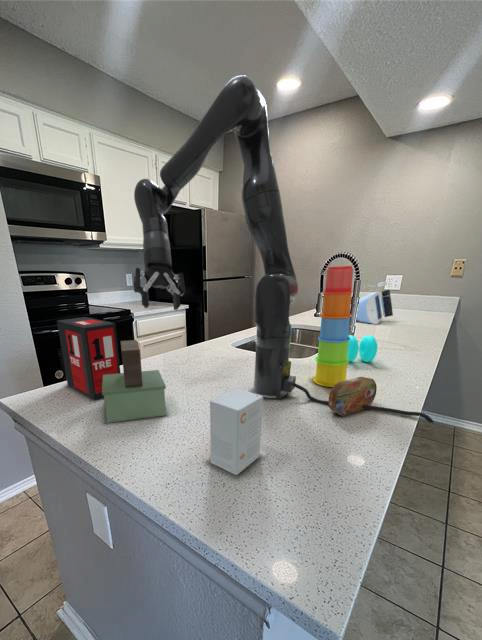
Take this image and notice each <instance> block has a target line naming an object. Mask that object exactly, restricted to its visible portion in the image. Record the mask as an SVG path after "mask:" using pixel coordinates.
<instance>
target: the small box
mask: <svg viewBox="0 0 482 640" xmlns="http://www.w3.org/2000/svg"><path fill="white" fill-rule="evenodd" d="M263 405H264V397H263V396H261V395H258V394H255V393H254V392H251V391H247V390H243V389H240V388H234V389H232V390H230V391H228V392H225V393H223V394H221V395H219V396H218V397H216V398H214V399H212V400H210V401H209V423H210V425H209V426H210V427H209V428H210V429H209V430H210V431H209V433H210V435H209V436H210V437H209V438H210V440H209V441H210V443H209V444H210V463H211V464H212V465H214V466H216V467H218V468H221V469H222V470H225V471H227V472H229V473H230V474H233V475H235V476H238V475H239V474H240V473H241V472H243V471H244V470H246V468H247V467H249V466H250V465H251V464H252V463H253V462H255V461H256V460H257V459H258V458H259V457H260V456H261V442H262V441H261V438H262V422H263V407H264V406H263Z"/></svg>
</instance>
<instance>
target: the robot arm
mask: <svg viewBox="0 0 482 640" xmlns="http://www.w3.org/2000/svg"><path fill="white" fill-rule="evenodd" d="M268 121H269V120H268V110H267V104H266V99H265V98H264V95H263V94H262V92H261V91H260V89H259V88H258V87H257V85H256V84H255V83H254V81H252V79H251V78H249V77H248V76H246V75H237V76H234V77H232V78H231V79H230V80H229V81H228V82H227V83H226V84H225V85H224V87H223V88H222V89H221V90H220V92H219V93H218V95H217V96H216V97H215V99H214V100H213V102H212V104H211V105H210V107H209V108H208V110H207V111H206V113H205V114H204V116H203V117H202V118H201V120H200V122H199V123H198V124H197V125H196V127H195V128H194V130H193V132H192V133H191V134H190V135H189V137H188V138H187V139H186V140H185V142H184V143H183V145H182V146H181V147H180V148H179V149H178V150H177V151H176V152H175V153H174V154H173V155H172V157H170V159H168V160H167V162H166V163H165V164H164V165H162V167H161V169H160V171H159V177H160V180H161V182H162V183H163V187H161V186H159V185H158V184H156V183H155V182H154V181H152V180H150V179H148V178H142V179H140V180H138V181H137V183H136V184H135V187H134V193H133V198H134V199H133V200H134V203H135V208H136V210H137V213H138V216H139V219H140V222H141V224H142V225H141V226H142V237H143V239H142V241H143V243H142V247H143V248H142V252H143V259H144V260H143V261H144V270H142V269H140V268H139V267H136V268H135V270H134V272H133V292H134V293H138V294H140V295H141V305H142V306H143V308H144V309H148V308H149V306H150V301H149V300H150V299H149V292H148V291H149V289H150V288H151V287H152V288H154V289H162V290H165V289H166V290H167V292H168V293H170V294H171V295H172V303H173V311H178V310H179V308H180V307H181V297H183V296H184V295H185V294H186V292H187V290H186V284H185V276H184V273H183V272H179V273H174V272H173V265H172V264H173V263H172V262H173V261H172V254H171V253H172V252H171V242H170V238H169V228H168V222H167V221H168V220H167V219H166V216H164V215H165V214H166V213H168V212H169V210H170V209H171V207H172V206H173V204H174V202H175V200H176V199H177V197H178V196H179V193H181V190H182V189H184V187H185V186H187V185H188V184H189V183H190V182H191V181H192V180H193V179H194V178H195V177H196V176H197V174H198V173H199V172H200V171H201V169H202V167H203V166H204V164H205V161H206V159H207V157H208V156H209V153H210V152H211V150H212V149H213V147H214V146H215V145H216V144H217V143H218V141H220V139H222V137H224V136H225V135H226V134H228V133H229V132H230V131H232V132H234V135H235V137H236V140H237V143H238V148H239V152H240V156H241V160H242V161H241V162H242V178H241V202H242V207H243V212H244V218H245V221H246V225H247V228H248V231H249V233H250V235H251V237H252V239H253V241H254V243H255V245H256V247H257V249H258V251H259V254H260V257H261V260H262V263H263V264H262V265H263V270H264V275H262V277H261V278H260V279H259V281H258V282H257V284H256V287H255V294H254V295H255V296H254V323H255V327H256V338H255V340H256V342H255V359H254V375H253V376H254V377H253V390H252V391H253V392H252V393H255V394H258V395H261V396H263V399H277V400H278V399H279V400H282V398H283V397H285V396H286V395H287V394H289V393H291V394H292V392H293V390H294V389H295V388H296V389H298V390H301V391H302V392H304V394H305V395H306V397H307V399H309V400H310V401H312V402H314V403H318V404H322V405H325V406H327V405H328V406H329V400H322V399H318V398H315V397H314V396H312V395H311V394H310V392H309V390H308V389H307V388H305V387H304V386H303V385H300V384H298V383H296V381H297V376H296V375H291V369H292V361H291V360H290V351H291V340H292V332H293V331H292V330H293V327H292V324H291V321H290V306H291V305H292V304H293V303H294V302H295V300H296V299H297V297H298V293H299V282H298V279H297V275H296V272H295V268H294V265H293V262H292V258H291V255H290V251H289V244H288V237H287V229H286V223H285V217H284V210H283V203H282V197H281V193H280V187H279V183H278V177H277V173H276V168H275V164H274V160H273V156H272V152H271V145H270V144H271V143H270V135H269V122H268ZM143 277H144V278H145V280H146V281H147V282H146V283H145V285H144V287H142V286H141V279H142V278H143ZM173 280H174V281H175V282H174V281H173ZM176 283H177V285H176ZM362 408H364V410H372V411H379V412H387V413H393V414H399V415H402V416H403V415H404V416H415V417H420V418H423V419H425V420H426V422H428V423H430V424H434V423H435V422H434V420H433V419H432V418H431V417H430V416H429V415H428V414H426V413H423V412H419V411H407V410H402V409H396V408H389V407H383V406H376V405H375V406H374V405H370V406H369V405H363V406H362ZM419 415H420V416H419Z"/></svg>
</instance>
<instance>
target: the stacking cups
mask: <svg viewBox="0 0 482 640" xmlns="http://www.w3.org/2000/svg"><path fill="white" fill-rule="evenodd" d="M353 274H354V268H353V265H342V266H341V265H340V266H328V267H327V269H326V274H325V287H324V291H322V293H323V301H322V303H323V304H322V311H321V314H319V316H320V317H321V319H320V329H319V330H320V331H319V336H318V337H317V340H318V350H317V357H315V362H316V368H315V376H314V377H313V378H312V381H313V382H314V384H317V385H318V386H322V387H326V388H333V387H334V385H336V384H337V383H339V382H342V381H346V380H348V379H347V370H348V364H349V363H350V362H349V359H348V358H347V354H348V342H349V340H350V337H348V336H349V335H350V323H351V318H350V317H352V315H351V314H350V307H351V305H352V294H353V293H354V290H352V289H353V288H352V287H353V278H354V277H353Z"/></svg>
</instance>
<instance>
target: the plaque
mask: <svg viewBox="0 0 482 640" xmlns="http://www.w3.org/2000/svg"><path fill="white" fill-rule="evenodd" d="M120 350H121V351H120V352H121V360H122V372H123V373H124V380H125V387H126V388H128V387H138V386H143V384H142V371H143V370H142V359H141V358H142V357H141V349H140V346H139V343H138V340H137V339H131V340H120Z"/></svg>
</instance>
